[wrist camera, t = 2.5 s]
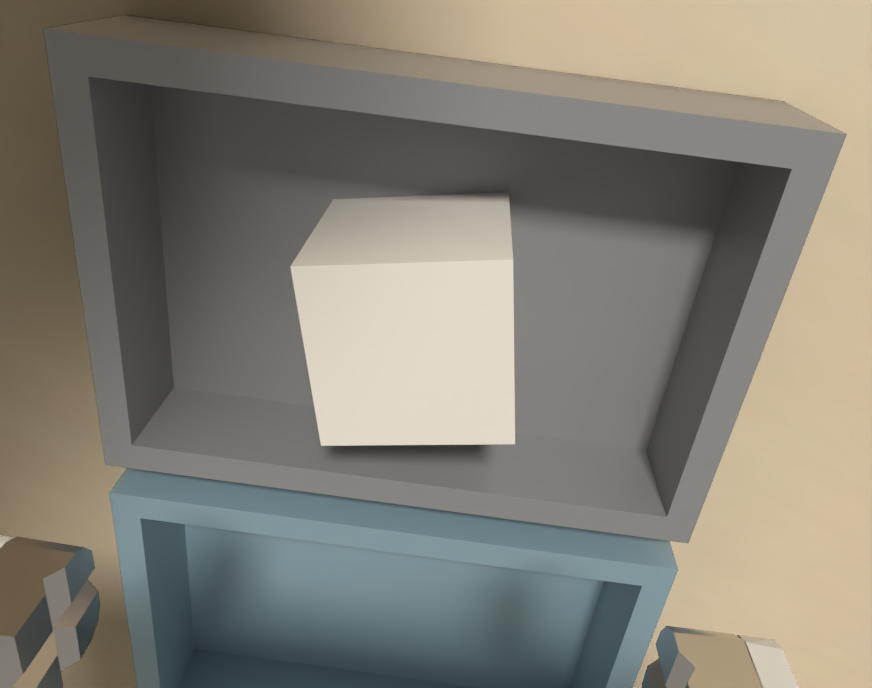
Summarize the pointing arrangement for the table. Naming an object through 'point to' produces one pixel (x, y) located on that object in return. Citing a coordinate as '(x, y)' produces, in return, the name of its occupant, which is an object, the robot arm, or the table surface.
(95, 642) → the table surface
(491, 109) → the tray
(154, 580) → the bin
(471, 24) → the table surface
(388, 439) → the white cube
